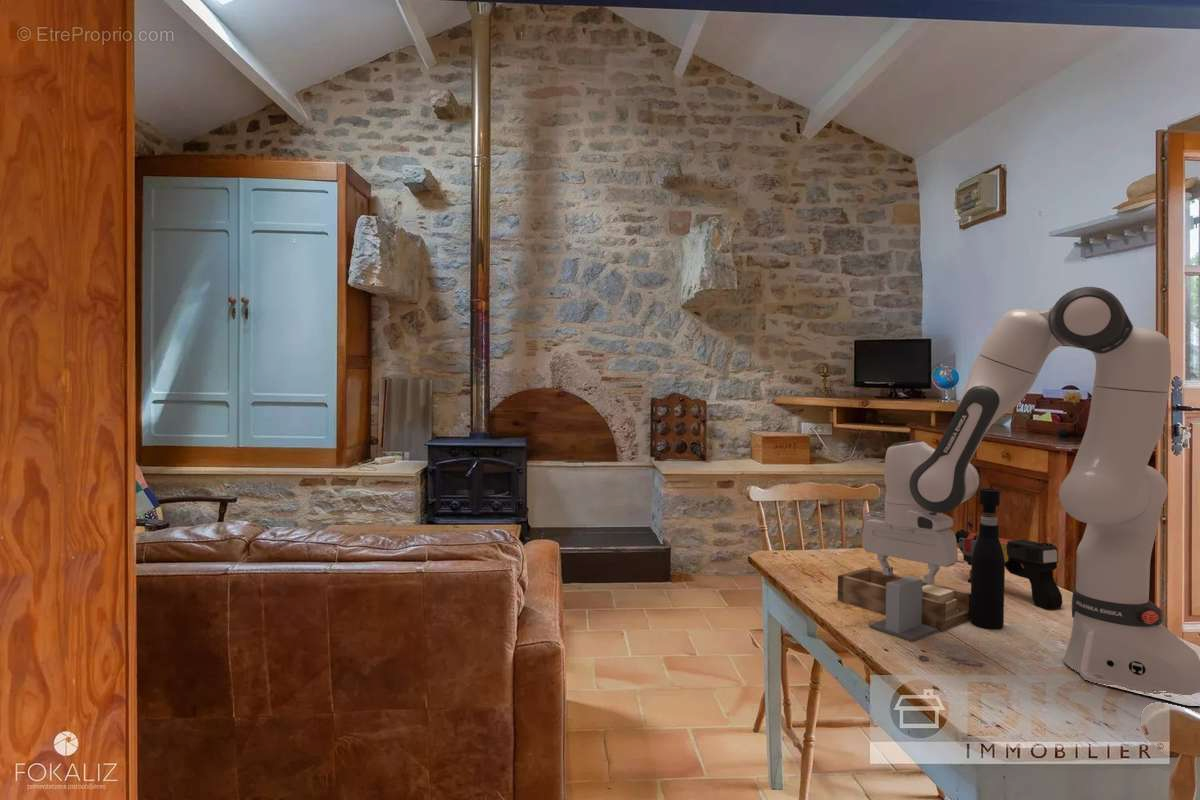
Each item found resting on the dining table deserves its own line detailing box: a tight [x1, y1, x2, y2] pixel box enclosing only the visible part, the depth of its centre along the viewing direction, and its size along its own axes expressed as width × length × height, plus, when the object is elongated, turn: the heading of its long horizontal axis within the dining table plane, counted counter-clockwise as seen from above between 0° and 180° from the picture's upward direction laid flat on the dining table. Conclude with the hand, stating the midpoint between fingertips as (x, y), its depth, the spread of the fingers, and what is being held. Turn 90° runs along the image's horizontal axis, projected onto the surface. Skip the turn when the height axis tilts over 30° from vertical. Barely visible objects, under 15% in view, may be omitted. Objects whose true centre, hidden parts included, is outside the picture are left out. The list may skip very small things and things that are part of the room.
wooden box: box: [837, 567, 971, 632], centre depth 164 cm, size 26×13×6 cm, turn 36°
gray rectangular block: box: [885, 575, 924, 633], centre depth 151 cm, size 3×9×10 cm, turn 126°
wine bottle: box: [969, 488, 1006, 631], centre depth 154 cm, size 6×6×30 cm
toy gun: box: [954, 528, 1063, 610], centre depth 177 cm, size 6×28×15 cm, turn 18°
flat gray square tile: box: [868, 618, 939, 642], centre depth 151 cm, size 10×10×1 cm
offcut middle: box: [945, 599, 957, 615], centre depth 158 cm, size 7×7×2 cm
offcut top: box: [922, 585, 954, 603], centre depth 158 cm, size 6×6×2 cm
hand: (907, 579), depth 150 cm, fingers open, 8 cm apart
